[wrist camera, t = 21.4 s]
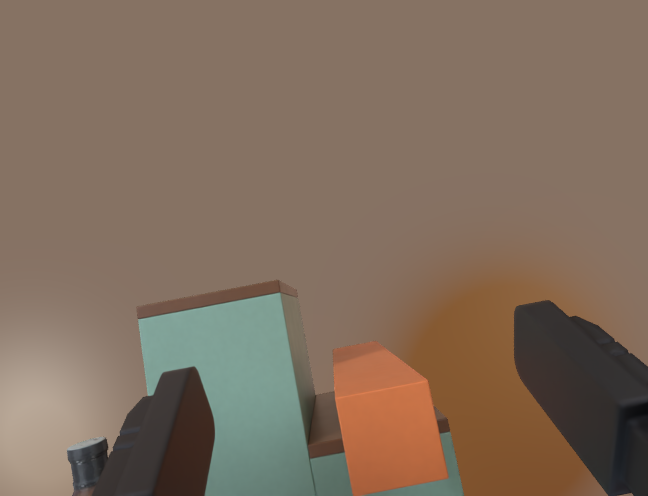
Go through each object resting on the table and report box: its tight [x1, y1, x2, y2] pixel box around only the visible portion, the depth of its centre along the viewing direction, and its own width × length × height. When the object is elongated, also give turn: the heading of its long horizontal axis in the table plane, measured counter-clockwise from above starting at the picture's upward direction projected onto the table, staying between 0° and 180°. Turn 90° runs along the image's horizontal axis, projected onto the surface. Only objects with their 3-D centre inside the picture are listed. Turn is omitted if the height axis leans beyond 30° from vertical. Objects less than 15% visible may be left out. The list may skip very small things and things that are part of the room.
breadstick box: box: [333, 341, 449, 496], centre depth 29 cm, size 22×4×4 cm, turn 179°
